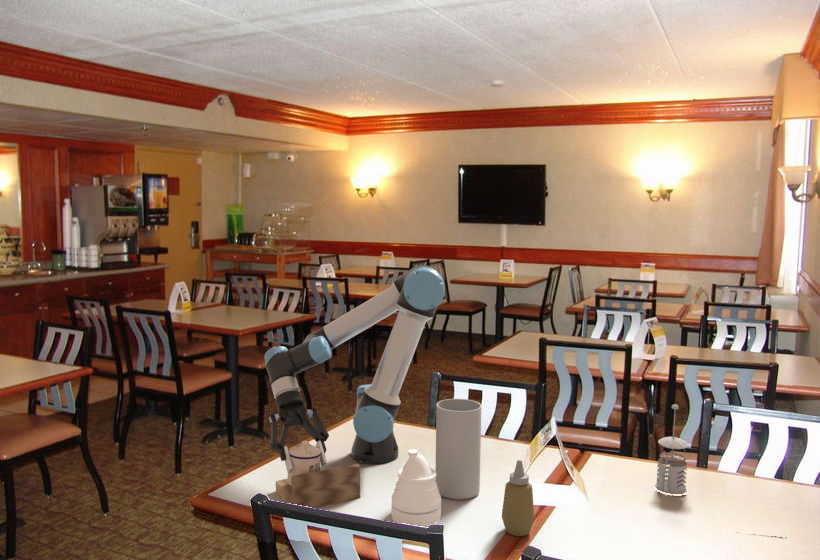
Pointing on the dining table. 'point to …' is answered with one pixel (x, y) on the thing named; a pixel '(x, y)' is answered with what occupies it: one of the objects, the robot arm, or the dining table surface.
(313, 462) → the teacup with lid
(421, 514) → the honey pot
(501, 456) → the dining table surface
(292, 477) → the cleat board
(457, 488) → the cylinder vase
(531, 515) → the squeeze bottle
